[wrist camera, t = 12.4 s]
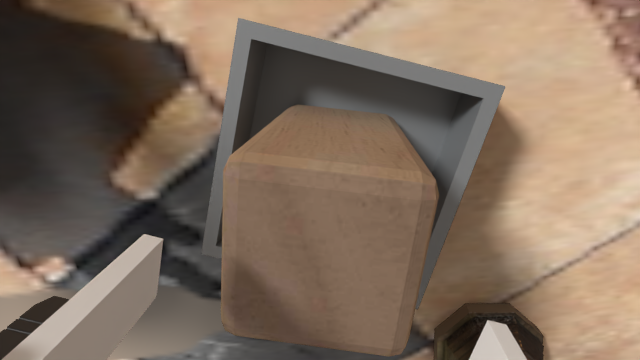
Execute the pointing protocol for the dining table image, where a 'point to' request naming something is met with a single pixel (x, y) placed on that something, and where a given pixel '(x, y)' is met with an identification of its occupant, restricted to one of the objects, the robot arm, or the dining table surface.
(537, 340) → the bird statue
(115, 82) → the dining table surface
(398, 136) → the block
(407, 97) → the box
